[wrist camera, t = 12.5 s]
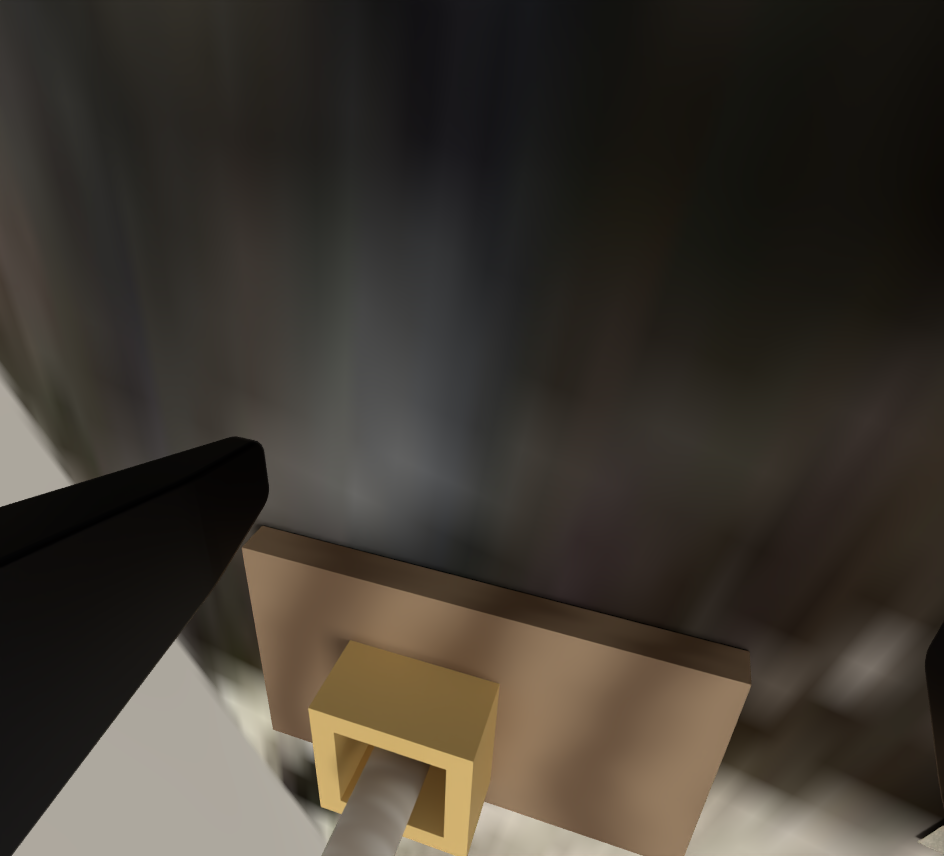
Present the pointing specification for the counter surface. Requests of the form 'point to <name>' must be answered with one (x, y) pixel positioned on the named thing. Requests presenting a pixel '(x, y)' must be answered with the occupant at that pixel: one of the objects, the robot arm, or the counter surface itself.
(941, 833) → the condiment
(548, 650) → the board
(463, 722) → the open wall cube
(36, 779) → the robot arm
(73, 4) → the counter surface
